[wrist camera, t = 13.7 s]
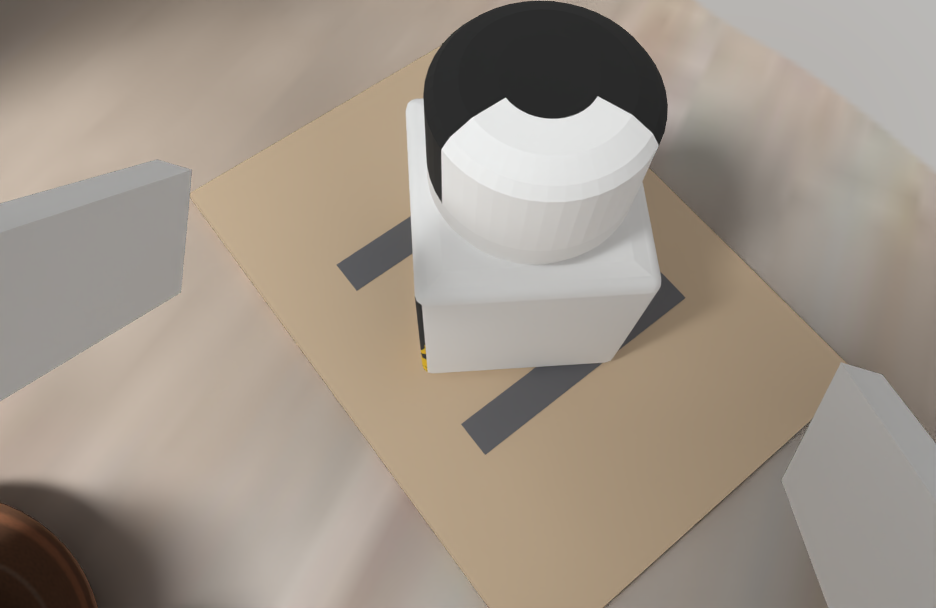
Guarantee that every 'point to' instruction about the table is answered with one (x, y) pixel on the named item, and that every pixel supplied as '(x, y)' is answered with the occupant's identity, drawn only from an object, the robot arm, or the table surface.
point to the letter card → (520, 389)
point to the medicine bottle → (533, 190)
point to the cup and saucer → (38, 567)
